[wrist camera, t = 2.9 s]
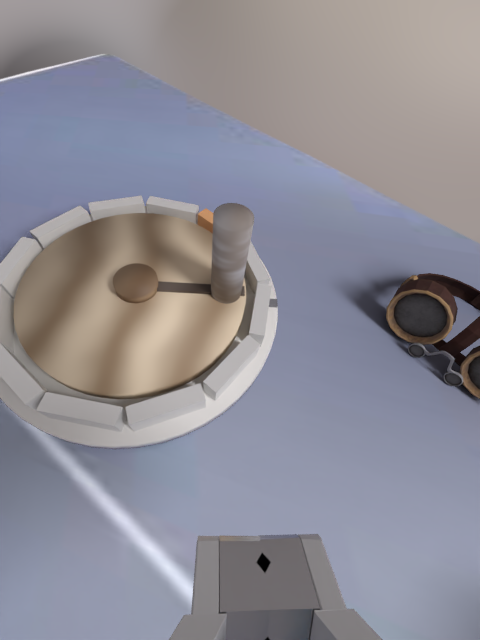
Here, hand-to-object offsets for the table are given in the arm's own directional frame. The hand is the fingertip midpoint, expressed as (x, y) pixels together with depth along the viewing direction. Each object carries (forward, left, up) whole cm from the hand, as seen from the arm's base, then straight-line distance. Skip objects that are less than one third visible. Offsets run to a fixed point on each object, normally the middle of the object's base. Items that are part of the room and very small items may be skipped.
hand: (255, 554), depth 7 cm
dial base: (-9, +19, -18) cm, 27 cm away
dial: (-9, +19, -16) cm, 26 cm away
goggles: (+26, +17, -18) cm, 36 cm away
